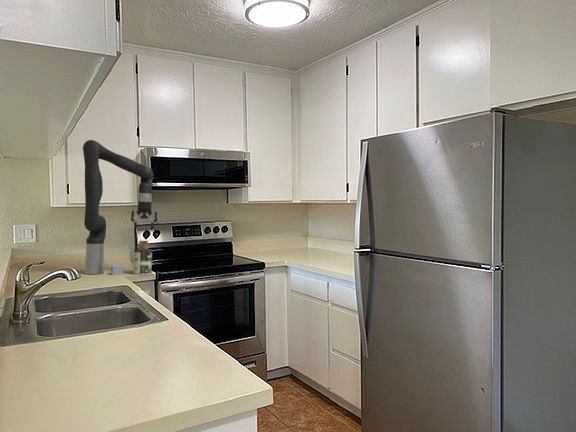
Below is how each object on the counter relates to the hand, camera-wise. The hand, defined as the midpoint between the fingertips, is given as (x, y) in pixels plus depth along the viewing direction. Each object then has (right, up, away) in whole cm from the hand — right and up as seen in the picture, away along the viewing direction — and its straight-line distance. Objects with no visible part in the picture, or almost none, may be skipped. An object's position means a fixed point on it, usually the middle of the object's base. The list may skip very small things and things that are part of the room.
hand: (143, 229), depth 249 cm
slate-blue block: (-14, -26, -4) cm, 30 cm away
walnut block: (0, -12, 0) cm, 12 cm away
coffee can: (-1, -26, 0) cm, 26 cm away
